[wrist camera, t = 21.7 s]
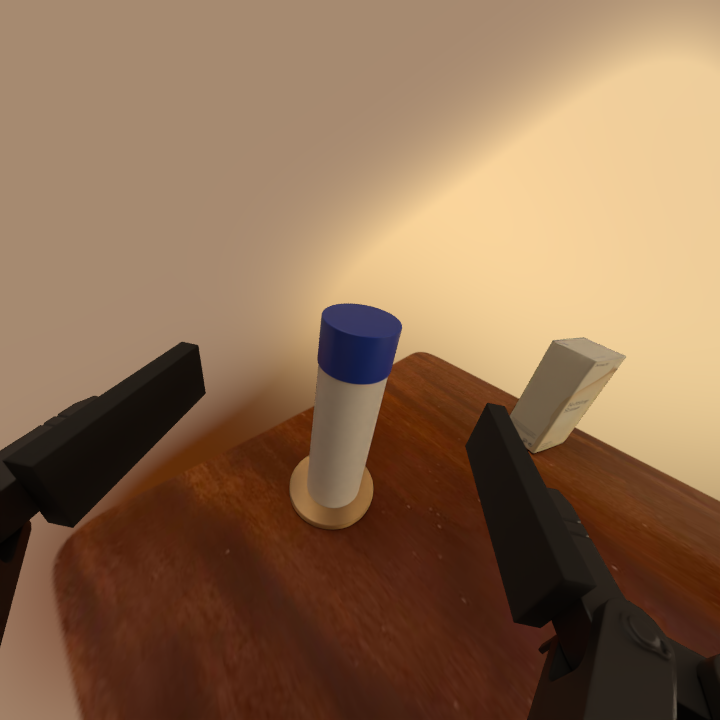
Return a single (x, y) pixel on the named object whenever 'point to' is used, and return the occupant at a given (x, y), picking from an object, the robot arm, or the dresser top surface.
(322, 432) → the bottle
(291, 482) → the coaster
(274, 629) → the dresser top surface
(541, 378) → the cosmetic box
